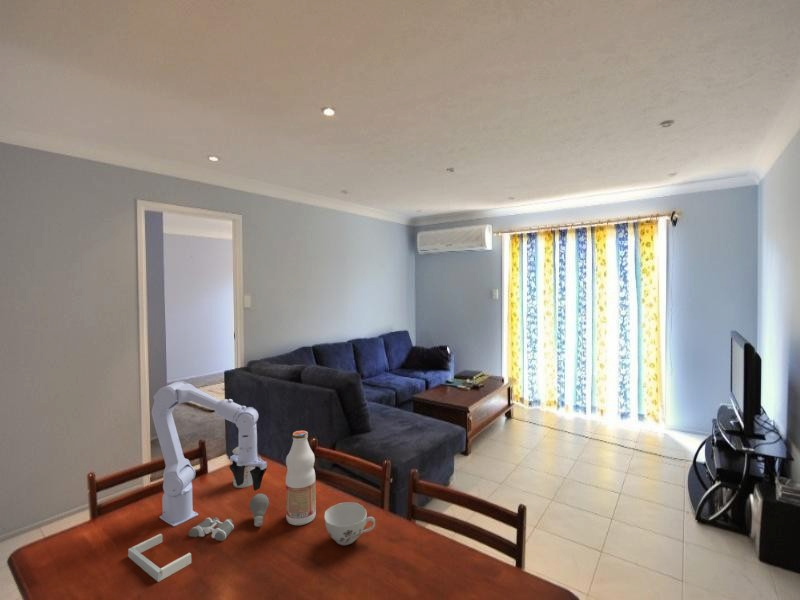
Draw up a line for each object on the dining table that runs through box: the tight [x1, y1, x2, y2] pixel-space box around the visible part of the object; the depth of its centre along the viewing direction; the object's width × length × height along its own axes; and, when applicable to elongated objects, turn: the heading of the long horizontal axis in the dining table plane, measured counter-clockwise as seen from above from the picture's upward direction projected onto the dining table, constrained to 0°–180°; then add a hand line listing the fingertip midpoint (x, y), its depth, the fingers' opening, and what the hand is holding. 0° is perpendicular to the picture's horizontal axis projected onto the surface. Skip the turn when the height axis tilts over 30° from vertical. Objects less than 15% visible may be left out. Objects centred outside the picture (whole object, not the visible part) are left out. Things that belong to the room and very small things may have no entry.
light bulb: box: [249, 493, 270, 527], centre depth 127 cm, size 6×6×10 cm
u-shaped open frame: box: [127, 533, 192, 583], centre depth 109 cm, size 17×8×2 cm, turn 56°
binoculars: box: [188, 517, 235, 542], centre depth 122 cm, size 12×8×4 cm, turn 79°
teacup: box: [323, 501, 376, 546], centre depth 117 cm, size 15×12×8 cm
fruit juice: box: [285, 430, 317, 526], centre depth 129 cm, size 9×9×28 cm
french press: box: [231, 445, 262, 489], centre depth 152 cm, size 10×12×25 cm
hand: (248, 486), depth 131 cm, fingers open, 7 cm apart
